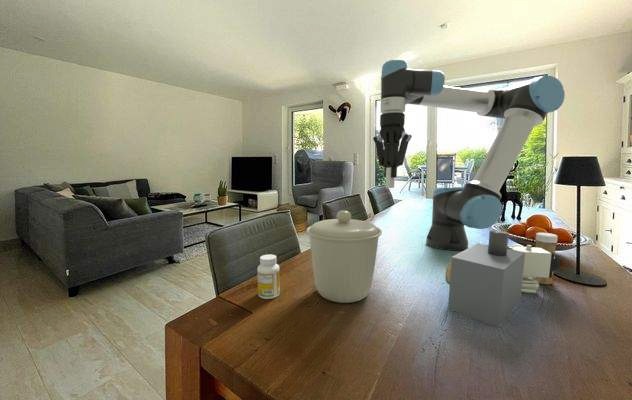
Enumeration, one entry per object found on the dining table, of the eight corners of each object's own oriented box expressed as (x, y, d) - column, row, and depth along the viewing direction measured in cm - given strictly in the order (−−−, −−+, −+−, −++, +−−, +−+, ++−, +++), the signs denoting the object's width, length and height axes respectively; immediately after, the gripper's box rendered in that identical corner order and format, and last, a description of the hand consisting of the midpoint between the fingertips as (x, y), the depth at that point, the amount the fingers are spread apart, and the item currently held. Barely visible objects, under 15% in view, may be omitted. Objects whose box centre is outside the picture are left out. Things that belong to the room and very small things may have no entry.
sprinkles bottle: (540, 285, 77) (545, 236, 75) (527, 278, 81) (531, 232, 79) (556, 284, 77) (562, 236, 75) (542, 278, 81) (547, 231, 79)
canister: (324, 319, 60) (324, 220, 57) (297, 285, 77) (296, 207, 74) (395, 303, 67) (398, 214, 64) (356, 275, 83) (357, 203, 81)
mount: (447, 308, 64) (450, 256, 63) (473, 287, 75) (476, 243, 74) (499, 327, 57) (504, 269, 55) (520, 301, 68) (524, 252, 66)
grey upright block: (490, 250, 67) (492, 229, 67) (508, 253, 65) (510, 231, 64) (485, 253, 65) (487, 231, 64) (503, 257, 62) (505, 234, 62)
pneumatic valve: (556, 297, 70) (561, 249, 68) (503, 292, 72) (507, 246, 71) (543, 287, 75) (548, 243, 74) (494, 283, 77) (497, 240, 76)
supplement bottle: (271, 287, 75) (270, 251, 74) (284, 294, 71) (283, 256, 70) (253, 294, 71) (252, 256, 70) (266, 301, 67) (265, 262, 66)
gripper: (368, 114, 93) (366, 187, 96) (404, 109, 83) (401, 189, 86) (382, 117, 98) (380, 185, 101) (417, 112, 88) (414, 188, 91)
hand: (389, 187), depth 94 cm, fingers closed
